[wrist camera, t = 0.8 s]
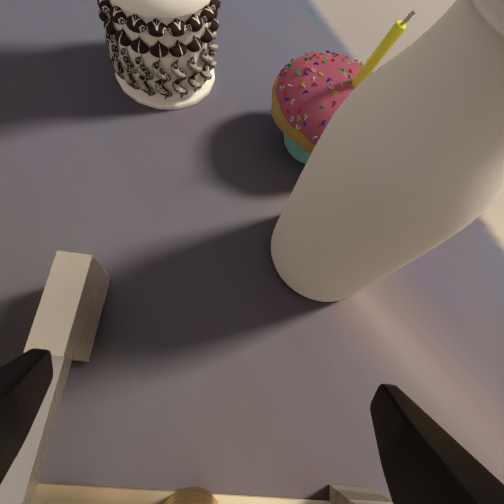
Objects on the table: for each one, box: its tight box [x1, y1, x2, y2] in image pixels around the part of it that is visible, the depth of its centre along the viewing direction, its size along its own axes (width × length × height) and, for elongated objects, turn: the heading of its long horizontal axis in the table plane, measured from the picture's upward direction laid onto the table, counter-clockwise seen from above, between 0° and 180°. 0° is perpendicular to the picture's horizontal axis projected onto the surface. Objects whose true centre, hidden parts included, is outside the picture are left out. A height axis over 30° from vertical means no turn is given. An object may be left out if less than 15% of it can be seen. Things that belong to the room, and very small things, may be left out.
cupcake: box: [271, 10, 416, 164], centre depth 23 cm, size 9×8×12 cm
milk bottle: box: [271, 0, 504, 302], centre depth 16 cm, size 8×8×20 cm
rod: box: [0, 251, 219, 504], centre depth 17 cm, size 15×42×7 cm, turn 85°
